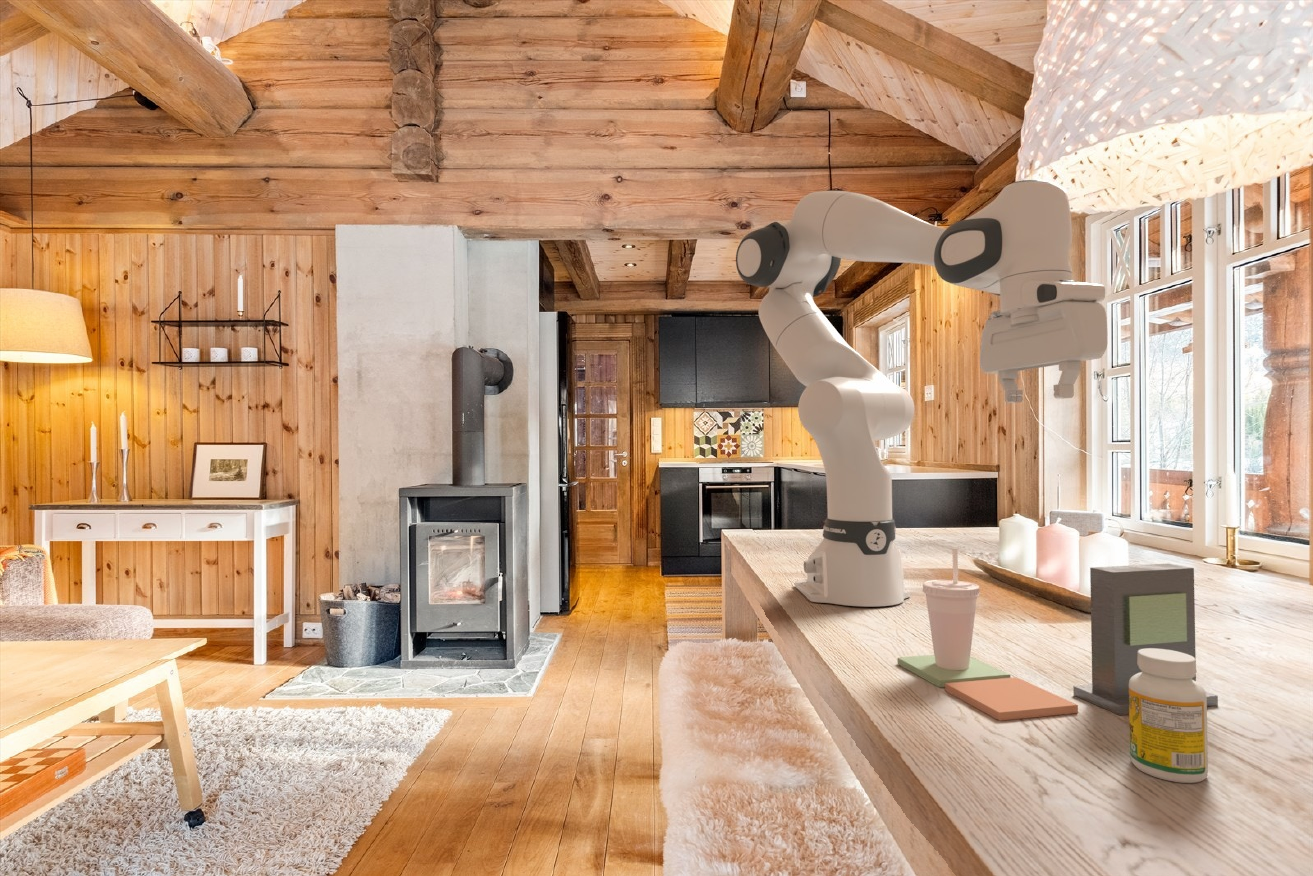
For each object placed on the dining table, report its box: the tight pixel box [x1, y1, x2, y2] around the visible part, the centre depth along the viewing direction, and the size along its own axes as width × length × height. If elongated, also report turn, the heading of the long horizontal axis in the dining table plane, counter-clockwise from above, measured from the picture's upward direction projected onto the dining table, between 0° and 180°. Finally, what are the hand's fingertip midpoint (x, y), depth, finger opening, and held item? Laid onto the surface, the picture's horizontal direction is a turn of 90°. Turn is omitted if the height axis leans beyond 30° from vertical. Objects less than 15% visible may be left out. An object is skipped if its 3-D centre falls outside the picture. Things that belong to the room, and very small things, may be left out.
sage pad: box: [897, 654, 1011, 688], centre depth 86 cm, size 9×9×1 cm
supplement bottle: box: [1128, 648, 1209, 784], centre depth 60 cm, size 5×5×10 cm
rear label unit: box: [1073, 563, 1219, 716], centre depth 76 cm, size 6×12×14 cm, turn 102°
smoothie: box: [921, 547, 981, 670], centre depth 86 cm, size 6×6×14 cm
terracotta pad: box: [944, 676, 1079, 721], centre depth 76 cm, size 9×9×1 cm
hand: (1037, 400), depth 98 cm, fingers open, 8 cm apart
